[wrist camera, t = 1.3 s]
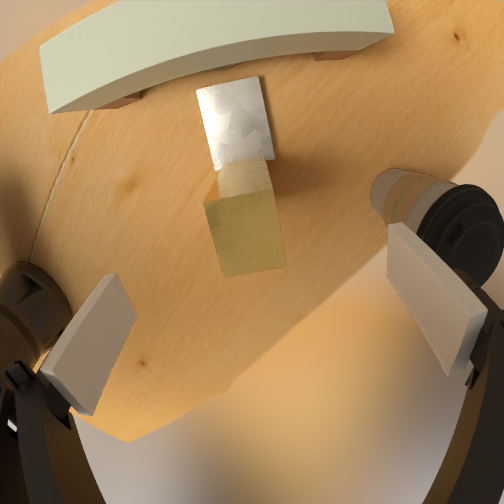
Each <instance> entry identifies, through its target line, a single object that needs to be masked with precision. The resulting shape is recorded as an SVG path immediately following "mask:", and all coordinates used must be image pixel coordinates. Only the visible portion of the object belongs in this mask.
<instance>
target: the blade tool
mask: <svg viewBox="0 0 504 504" xmlns="http://www.w3.org/2000/svg"><path fill="white" fill-rule="evenodd" d="M196 92H197V96H198V100H199V105H200V109H201V113H202V118H203V122H204V126H205V130H206V134H207V139H208V143H209V147H210V151H211V155H212V159H213V164H214V168H215V171H217V170H220V172H219V174H218V176H217V178H216V179H215V181H214V183H213V185H212V187H211V189H210V191H209V192H208V194H207V196H206V198H205V200H204V202H203V204H204V208H205V212H206V215H207V219H208V223H209V226H210V230H211V233H212V237H213V241H214V244H215V248H216V251H217V254H218V258H219V261H220V265H221V268H222V272H223V275H224V277H228V276H234V275H240V274H246V273H252V272H257V271H263V270H269V269H274V268H280V267H286V266H287V264H286V258H285V252H284V246H283V240H282V234H281V229H280V223H279V218H278V212H277V207H276V201H275V196H274V190H273V186H272V182H271V179H270V175H269V171H268V168H267V164H266V160H272V159H275V155H274V150H273V145H272V140H271V135H270V130H269V125H268V120H267V115H266V110H265V106H264V101H263V96H262V92H261V87H260V83H259V78H258V76H255V77H249V78H244V79H239V80H234V81H230V82H225V83H221V84H217V85H212V86H208V87H204V88H201V89H197V90H196Z"/></svg>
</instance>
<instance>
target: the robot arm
mask: <svg viewBox="0 0 504 504" xmlns="http://www.w3.org/2000/svg"><path fill="white" fill-rule="evenodd" d="M387 277H388V279H389V280H390V281H391V283H392V284H393V286H394V287H395V289H396V291H397V292H398V294H399V295H400V296H401V298H402V300H403V301H404V303H405V305H406V306H407V308H408V309H409V311H410V313H411V314H412V316H413V317H414V319H415V321H416V322H417V324H418V326H419V327H420V329H421V331H422V332H423V334H424V336H425V337H426V339H427V341H428V343H429V344H430V346H431V348H432V350H433V351H434V353H435V355H436V357H437V359H438V360H439V362H440V364H441V366H442V368H443V369H444V371H445V373H446V375H447V377H449V376H451V375H454V374H456V373H459V372H461V371H463V370H465V368H466V365H467V363H468V361H469V359H470V360H471V362H472V363H473V365H474V367H473V369H472V371H471V373H470V375H469V377H468V379H467V381H466V383H465V385H466V386H467V385H468V388H467V392H466V395H465V400H464V403H463V406H462V410H461V413H460V416H459V419H458V422H457V425H456V428H455V431H454V434H453V437H452V440H451V442H450V445H449V448H448V450H447V453H446V455H445V458H444V460H443V462H442V465H441V467H440V469H439V471H438V474H437V476H436V478H435V480H434V482H433V484H432V486H431V488H430V490H429V492H428V494H427V496H426V498H425V500H424V502H423V503H422V504H498V503H499V500H500V498H501V495H502V492H503V489H504V310H501V309H500V308H499V307H498V306H497V305H496V303H495V302H494V301H493V300H492V299H491V298H490V297H489V296H488V295H487V293H486V292H485V291H484V290H483V289H481V287H480V286H479V285H478V284H477V283H475V281H474V280H473V279H472V278H471V277H470V275H469V274H468V273H466V272H464V271H462V270H460V269H459V268H454V269H451V268H450V267H449V266H448V265H447V264H446V263H445V262H444V261H443V260H442V259H441V258H440V257H439V256H438V255H437V254H436V253H435V252H434V251H433V250H432V249H431V248H430V247H428V246H427V245H426V244H425V243H424V242H423V241H422V240H421V239H420V238H419V237H418V236H417V235H416V234H415V233H414V232H413V231H411V230H410V229H409V228H408V227H407V226H406V225H405V224H404V223H403V222H400V223H394V224H389V225H388V254H387ZM136 317H137V314H136V312H135V310H134V308H133V306H132V304H131V302H130V300H129V298H128V296H127V294H126V292H125V290H124V288H123V286H122V283H121V281H120V279H119V277H118V275H117V273H112V274H106V275H104V277H103V278H102V279H101V280H100V282H99V283H98V284H97V286H96V287H95V288H94V290H93V291H92V292H91V294H90V295H89V296H88V298H87V299H86V300H85V302H84V303H83V305H82V306H81V307H80V309H79V310H78V312H77V313H76V314H75V316H74V317H73V319H72V313H71V309H70V306H69V304H68V302H67V300H66V298H65V296H64V294H63V293H62V291H61V290H60V288H59V287H58V286H57V284H56V283H55V282H54V281H53V280H52V279H51V278H50V277H49V276H48V275H47V274H46V273H45V272H44V271H42V270H41V269H40V268H38V267H36V266H35V265H33V264H30V263H27V262H16V263H14V264H13V265H11V266H10V267H9V268H8V269H7V270H6V271H5V272H4V273H3V275H2V277H1V279H0V504H106V502H105V500H104V498H103V496H102V494H101V492H100V490H99V487H98V485H97V483H96V480H95V478H94V476H93V473H92V471H91V468H90V466H89V463H88V460H87V458H86V455H85V452H84V450H83V446H82V444H81V440H80V437H79V434H78V431H77V428H76V424H75V421H74V418H73V416H72V414H71V413H70V412H69V409H70V407H71V406H72V407H73V408H74V409H75V410H76V411H77V412H78V413H79V414H82V415H88V416H93V413H94V411H95V408H96V406H97V403H98V401H99V398H100V396H101V394H102V391H103V389H104V387H105V384H106V382H107V380H108V377H109V375H110V373H111V370H112V368H113V366H114V364H115V361H116V359H117V357H118V355H119V353H120V350H121V348H122V346H123V344H124V342H125V340H126V338H127V336H128V333H129V331H130V329H131V327H132V325H133V323H134V321H135V319H136ZM50 349H51V350H50ZM49 350H50V352H49V353H48V355H47V356H46V358H45V360H44V361H43V363H42V365H41V366H40V368H39V369H38V371H37V373H36V374H35V372H34V371H33V368H34V366H35V364H36V363H37V361H38V360H39V358H40V357H41V356H42V355H43V354H44V353H46V352H47V351H49ZM468 383H469V384H468ZM8 419H9V420H10V421H11V422H12V423H13V424H14V425H15V426H16V427H17V431H16V432H15V431H14V430H13V429H11V428H10V427H9V426H8Z"/></svg>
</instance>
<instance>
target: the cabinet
mask: <svg viewBox="0 0 504 504" xmlns="http://www.w3.org/2000/svg"><path fill="white" fill-rule="evenodd" d="M392 34H395V31H394V27H393V24H392V20H391V17H390V13H389V10H388V7H387V4H386V1H385V0H121V1H118V2H116V3H114V4H112V5H110V6H108V7H106V8H104V9H102V10H100V11H98V12H96V13H94V14H92V15H90V16H88V17H86V18H84V19H83V20H81V21H79V22H77V23H76V24H74V25H72V26H70V27H69V28H67V29H66V30H64V31H62V32H61V33H59V34H58V35H56V36H54V37H53V38H51V39H50V40H48V41H47V42H45V43H44V44H43V45H41V46H40V47H39V50H40V60H41V68H42V76H43V82H44V89H45V94H46V100H47V105H48V110H49V114H55V113H63V112H72V111H83V110H97V109H117V108H119V107H122V106H124V105H127V104H130V103H132V102H135V101H137V100H140V99H141V95H140V90H143V89H146V88H149V87H152V86H154V85H157V84H160V83H163V82H166V81H169V80H173V79H176V78H179V77H183V76H186V75H189V74H193V73H197V72H200V71H204V70H208V69H212V68H216V67H221V66H225V65H230V64H234V63H239V62H245V61H250V60H256V59H261V58H268V57H275V56H282V55H290V54H299V53H310V52H313V54H314V58H315V61H318V60H333V59H344V58H346V57H348V56H350V55H352V54H353V53H355V52H357V51H359V50H361V49H363V48H365V47H367V46H369V45H371V44H373V43H375V42H377V41H380V40H382V39H384V38H386V37H388V36H390V35H392Z"/></svg>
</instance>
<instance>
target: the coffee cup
mask: <svg viewBox="0 0 504 504" xmlns="http://www.w3.org/2000/svg"><path fill="white" fill-rule="evenodd" d="M371 200H372V203H373V205H374V207H375V209H376V210H377V211H378V213H379V214H380V215H381V217H382V218H383V220H384V222H385V224H386V226H387V227H388V225H389V224H394V223H400V222H403V223H404V224H405V225H406V226H407V227H408V228H409V229H410V230H411V231H413V232H414V233H415V234H416V235H417V236H418V237H419V238H420V239H421V240H422V241H423V242H424V243H425V244H426V245H427V246H428V247H430V248H431V249H432V250H433V251H434V252H435V253H436V254H437V255H438V256H439V257H440V258H441V259H442V260H443V261H444V262H445V263H446V264H447V265H448V266H449V267H450V268H451V269H454V268H459V269H460V270H462V271H464V272H466V273H468V274H469V275H470V277H471V278H472V279H473V280H474V281H475V283H477V284H478V285H479V286H480V287H481V286H482V285H483V284H484V283H485V282H486V281H487V280H488V279H489V277H490V276H491V275H492V273H493V272H494V270H495V268H496V267H497V265H498V263H499V261H500V258H501V255H502V252H503V248H504V221H503V218H502V216H501V214H500V212H499V209H498V207H497V204H496V202H495V201H494V199H493V198H492V197H491V196H490V195H489V194H488V193H487V192H486V191H484V190H483V189H482V188H480V187H478V186H475V185H470V184H464V185H457V184H455V183H453V182H450V181H447V180H443V179H440V178H437V177H433V176H430V175H426V174H422V173H418V172H409V171H405V170H401V169H396V168H392V169H388V170H386V171H384V172H383V173H382V174H380V175H379V177H378V178H377V179H376V181H375V183H374V185H373V188H372V192H371Z"/></svg>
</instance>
